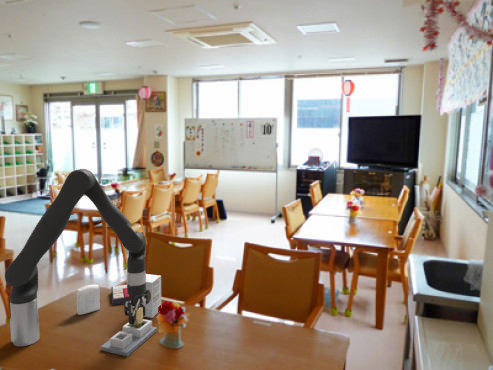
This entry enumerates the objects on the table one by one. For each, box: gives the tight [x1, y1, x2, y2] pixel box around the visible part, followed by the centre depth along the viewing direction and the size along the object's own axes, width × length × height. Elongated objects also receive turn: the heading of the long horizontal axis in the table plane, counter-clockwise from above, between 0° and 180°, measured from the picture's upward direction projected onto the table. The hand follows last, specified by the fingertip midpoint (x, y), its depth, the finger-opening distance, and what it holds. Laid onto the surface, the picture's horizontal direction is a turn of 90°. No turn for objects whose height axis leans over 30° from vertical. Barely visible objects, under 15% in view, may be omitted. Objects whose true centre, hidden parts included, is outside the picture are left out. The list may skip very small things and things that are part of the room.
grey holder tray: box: [100, 318, 158, 357], centre depth 155 cm, size 12×20×4 cm, turn 161°
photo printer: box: [76, 284, 101, 316], centre depth 178 cm, size 10×4×12 cm, turn 134°
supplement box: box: [143, 273, 162, 319], centre depth 177 cm, size 10×9×17 cm
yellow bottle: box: [131, 305, 144, 328], centre depth 159 cm, size 4×4×12 cm
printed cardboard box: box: [111, 284, 130, 306], centre depth 194 cm, size 11×4×15 cm
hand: (137, 319), depth 159 cm, fingers open, 7 cm apart
